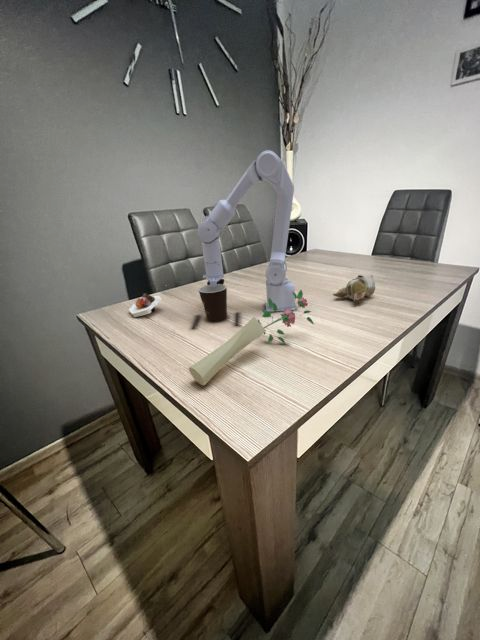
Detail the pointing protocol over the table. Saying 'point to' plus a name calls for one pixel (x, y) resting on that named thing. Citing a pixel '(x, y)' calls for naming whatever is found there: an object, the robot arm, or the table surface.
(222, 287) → the coffee mug
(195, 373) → the flower vase
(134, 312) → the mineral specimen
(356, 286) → the ceramic sculpture
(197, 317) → the guide strips
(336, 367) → the table surface
